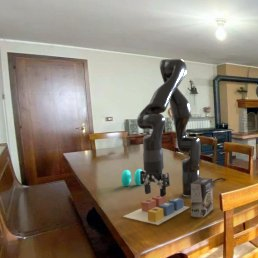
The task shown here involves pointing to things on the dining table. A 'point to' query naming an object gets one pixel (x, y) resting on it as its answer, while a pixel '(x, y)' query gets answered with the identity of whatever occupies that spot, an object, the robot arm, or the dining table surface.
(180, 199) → the right block
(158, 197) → the left block
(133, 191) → the dining table surface
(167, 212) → the right block
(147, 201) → the left block
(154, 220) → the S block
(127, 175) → the donuts
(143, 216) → the board
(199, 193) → the coffee box
